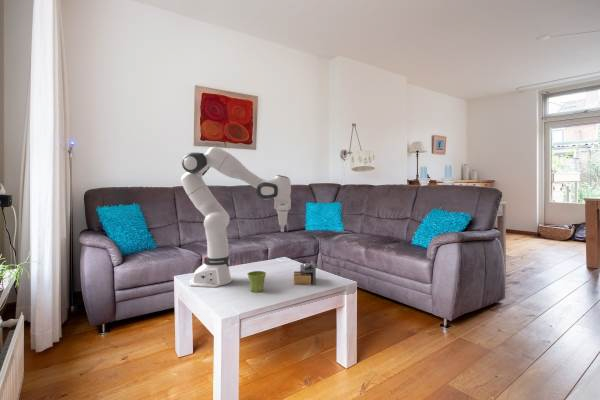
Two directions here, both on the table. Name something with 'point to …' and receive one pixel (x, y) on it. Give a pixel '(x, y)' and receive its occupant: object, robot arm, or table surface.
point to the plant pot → (256, 280)
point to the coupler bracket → (309, 270)
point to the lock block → (302, 278)
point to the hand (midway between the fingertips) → (282, 231)
